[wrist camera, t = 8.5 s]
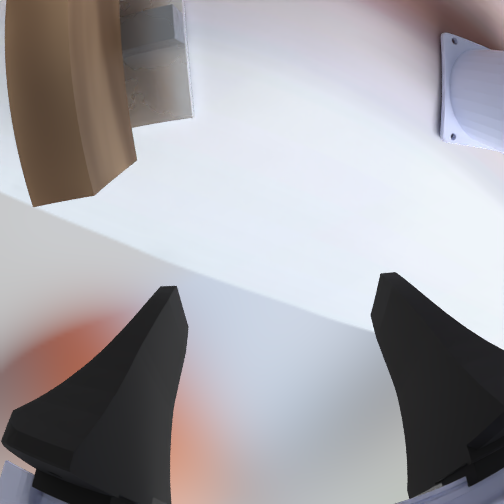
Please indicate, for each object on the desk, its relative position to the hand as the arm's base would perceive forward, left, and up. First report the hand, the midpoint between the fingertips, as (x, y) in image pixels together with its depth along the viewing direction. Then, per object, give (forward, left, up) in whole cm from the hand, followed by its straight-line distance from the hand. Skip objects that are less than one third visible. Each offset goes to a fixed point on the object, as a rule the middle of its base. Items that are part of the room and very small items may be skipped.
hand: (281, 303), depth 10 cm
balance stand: (+9, -11, -10) cm, 17 cm away
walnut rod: (+9, -11, -7) cm, 15 cm away
